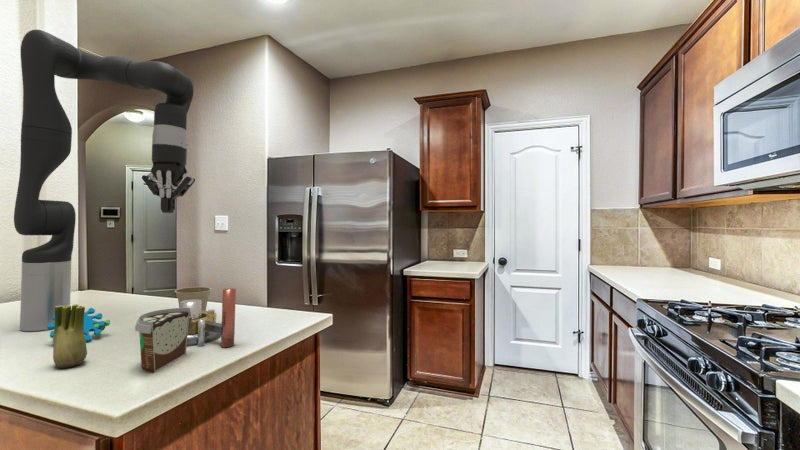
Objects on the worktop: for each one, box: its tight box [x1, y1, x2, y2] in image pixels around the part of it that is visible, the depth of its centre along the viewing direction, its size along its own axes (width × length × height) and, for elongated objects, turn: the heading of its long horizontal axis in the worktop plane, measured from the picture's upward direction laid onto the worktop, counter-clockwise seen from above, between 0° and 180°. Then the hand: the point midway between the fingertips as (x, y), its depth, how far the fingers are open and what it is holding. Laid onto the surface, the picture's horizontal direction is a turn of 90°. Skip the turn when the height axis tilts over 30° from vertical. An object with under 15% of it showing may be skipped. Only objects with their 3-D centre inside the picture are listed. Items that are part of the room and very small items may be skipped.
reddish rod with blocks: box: [188, 287, 237, 348], centre depth 86 cm, size 20×11×13 cm, turn 67°
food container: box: [134, 307, 191, 374], centre depth 72 cm, size 12×6×10 cm, turn 178°
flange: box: [180, 299, 221, 348], centre depth 87 cm, size 16×14×9 cm
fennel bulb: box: [52, 303, 88, 369], centre depth 70 cm, size 6×5×12 cm
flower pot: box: [174, 286, 212, 311], centre depth 104 cm, size 9×9×9 cm
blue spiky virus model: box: [48, 307, 111, 343], centre depth 84 cm, size 11×6×10 cm
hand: (167, 212), depth 91 cm, fingers closed
